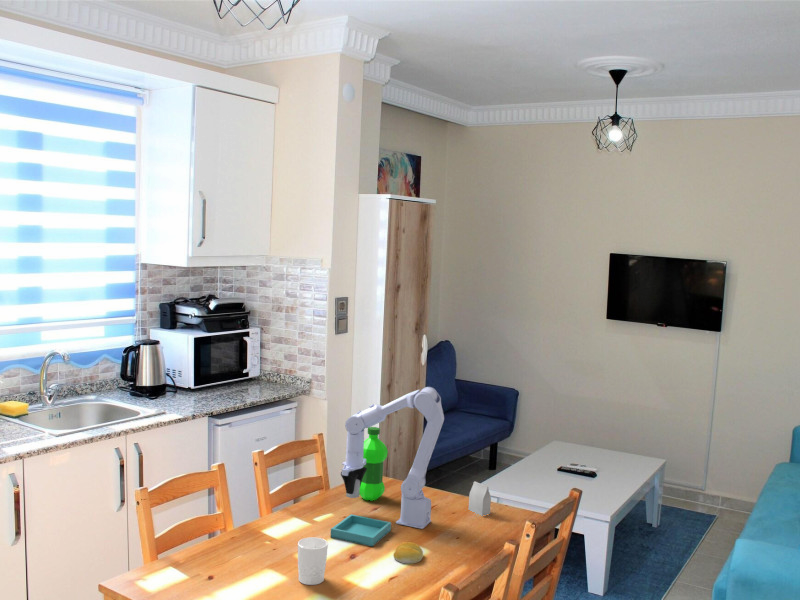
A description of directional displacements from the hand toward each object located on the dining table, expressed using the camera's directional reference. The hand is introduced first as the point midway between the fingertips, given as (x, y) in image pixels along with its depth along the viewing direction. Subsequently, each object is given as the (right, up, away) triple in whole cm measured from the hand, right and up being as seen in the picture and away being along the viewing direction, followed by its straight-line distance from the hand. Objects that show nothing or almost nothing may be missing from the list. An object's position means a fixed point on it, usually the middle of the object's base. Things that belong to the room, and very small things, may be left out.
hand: (353, 491), depth 249 cm
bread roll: (+18, -12, -31) cm, 38 cm away
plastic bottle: (+5, -7, +17) cm, 19 cm away
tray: (+3, -9, -16) cm, 19 cm away
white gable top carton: (+42, -10, +8) cm, 44 cm away
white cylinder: (0, -2, 0) cm, 2 cm away
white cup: (-8, -11, -49) cm, 51 cm away
